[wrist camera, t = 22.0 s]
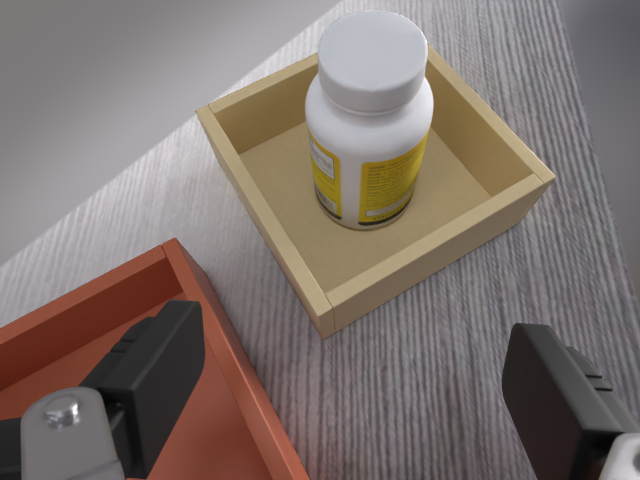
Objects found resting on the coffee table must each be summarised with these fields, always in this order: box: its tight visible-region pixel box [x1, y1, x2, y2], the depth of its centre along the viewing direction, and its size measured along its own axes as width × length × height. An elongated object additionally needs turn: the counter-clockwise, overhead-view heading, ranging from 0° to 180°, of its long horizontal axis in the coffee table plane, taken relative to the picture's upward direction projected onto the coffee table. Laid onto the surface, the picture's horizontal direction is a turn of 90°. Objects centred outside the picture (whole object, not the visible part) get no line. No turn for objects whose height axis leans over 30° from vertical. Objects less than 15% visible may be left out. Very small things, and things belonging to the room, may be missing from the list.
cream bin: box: [195, 14, 556, 339], centre depth 24 cm, size 12×12×5 cm
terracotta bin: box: [0, 238, 310, 480], centre depth 19 cm, size 12×12×5 cm
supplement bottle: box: [305, 10, 434, 229], centre depth 21 cm, size 5×5×10 cm
